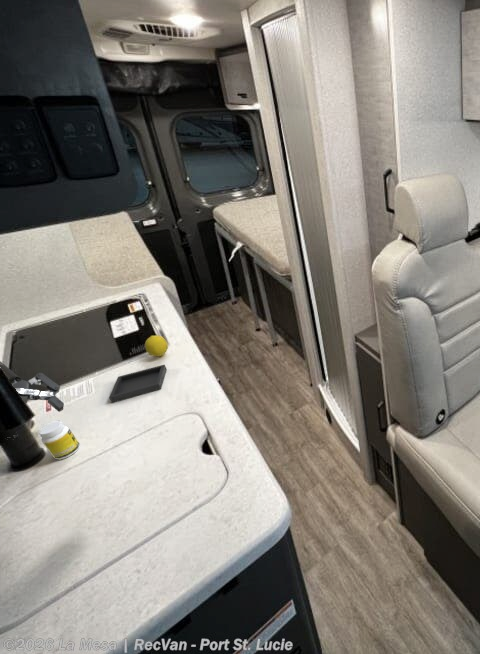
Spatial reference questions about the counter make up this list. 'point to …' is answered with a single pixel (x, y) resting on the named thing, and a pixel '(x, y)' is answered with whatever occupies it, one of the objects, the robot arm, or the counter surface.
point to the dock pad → (138, 383)
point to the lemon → (156, 345)
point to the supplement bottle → (59, 440)
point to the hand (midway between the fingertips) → (40, 423)
